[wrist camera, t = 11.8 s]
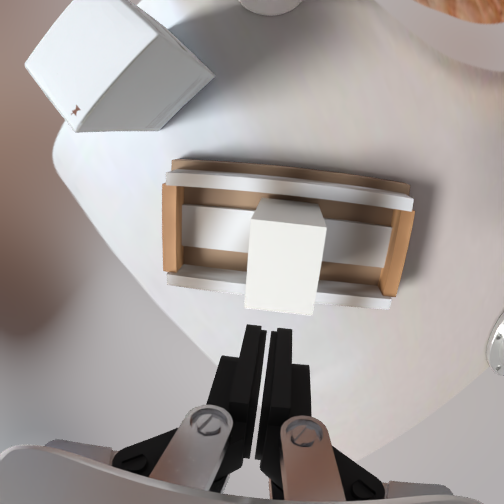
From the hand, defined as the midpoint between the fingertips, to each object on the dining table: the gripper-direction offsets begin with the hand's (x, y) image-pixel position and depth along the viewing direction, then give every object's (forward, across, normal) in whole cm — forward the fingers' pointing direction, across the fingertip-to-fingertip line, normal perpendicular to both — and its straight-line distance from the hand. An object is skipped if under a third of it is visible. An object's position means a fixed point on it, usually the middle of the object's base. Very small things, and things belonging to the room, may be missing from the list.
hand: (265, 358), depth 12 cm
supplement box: (+18, +12, -13) cm, 25 cm away
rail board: (+18, 0, 0) cm, 18 cm away
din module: (+16, -1, 0) cm, 16 cm away
